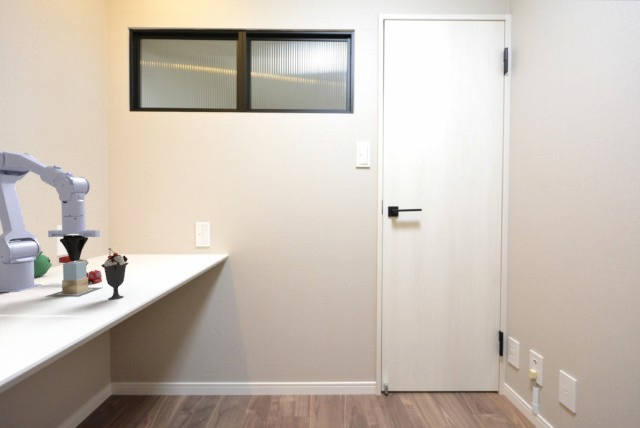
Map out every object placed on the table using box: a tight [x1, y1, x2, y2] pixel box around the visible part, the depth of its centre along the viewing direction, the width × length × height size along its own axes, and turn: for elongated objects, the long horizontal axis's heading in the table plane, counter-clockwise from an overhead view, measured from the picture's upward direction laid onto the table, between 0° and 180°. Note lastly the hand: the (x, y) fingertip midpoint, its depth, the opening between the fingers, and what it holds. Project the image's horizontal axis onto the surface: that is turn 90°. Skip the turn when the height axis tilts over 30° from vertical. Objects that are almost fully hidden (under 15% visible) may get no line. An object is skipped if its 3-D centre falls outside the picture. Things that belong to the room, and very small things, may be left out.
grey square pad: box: [45, 287, 102, 298], centre depth 98 cm, size 10×10×1 cm
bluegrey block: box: [62, 261, 87, 280], centre depth 98 cm, size 4×4×5 cm
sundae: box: [100, 247, 129, 301], centre depth 92 cm, size 7×7×15 cm
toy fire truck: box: [58, 255, 103, 285], centre depth 110 cm, size 3×14×10 cm, turn 84°
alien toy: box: [34, 250, 53, 278], centre depth 121 cm, size 7×8×10 cm
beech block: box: [61, 277, 89, 294], centre depth 98 cm, size 4×4×4 cm
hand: (74, 260), depth 98 cm, fingers closed
